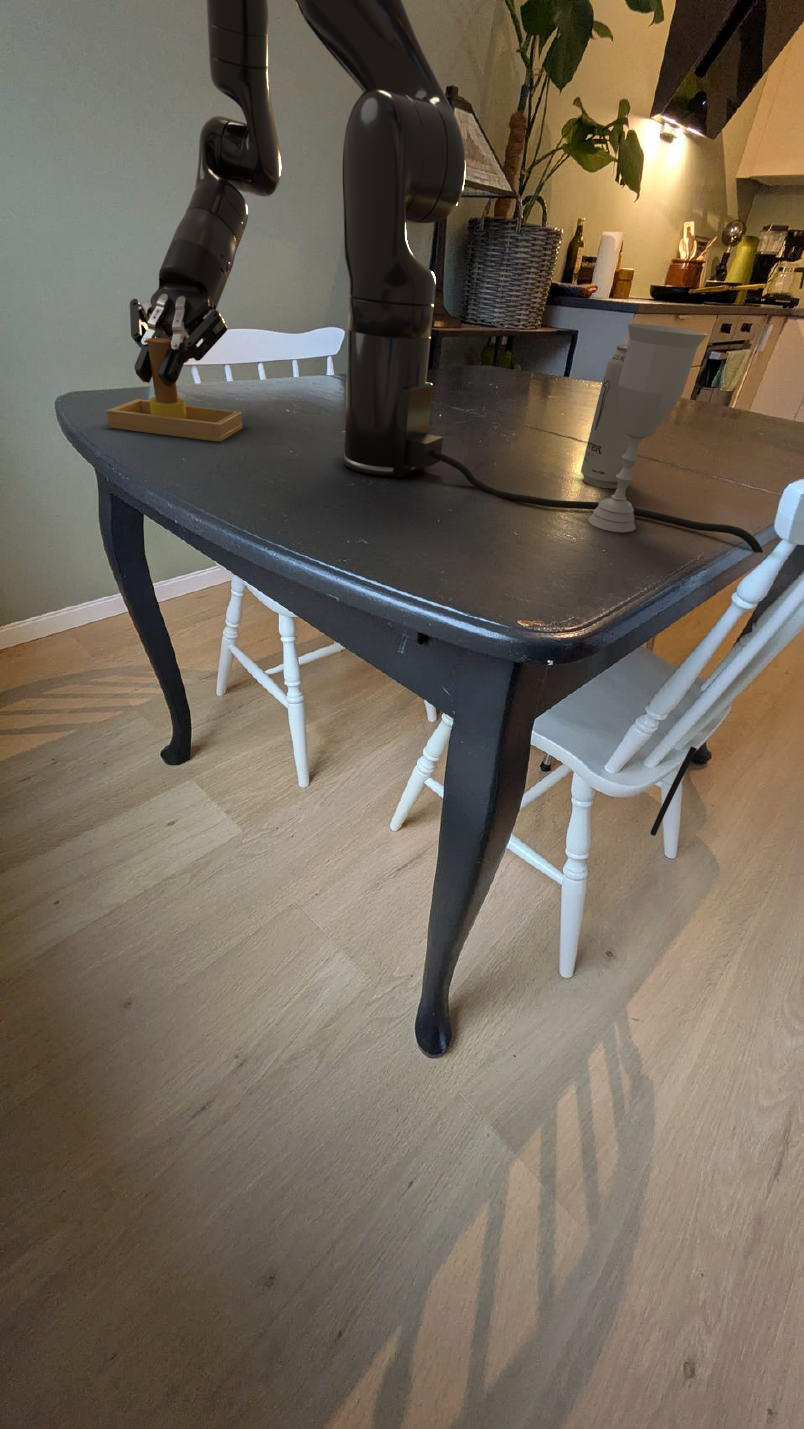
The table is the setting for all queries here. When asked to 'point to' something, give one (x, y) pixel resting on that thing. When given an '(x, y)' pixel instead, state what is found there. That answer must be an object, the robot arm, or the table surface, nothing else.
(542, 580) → the table surface
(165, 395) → the peg on yellow base
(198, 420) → the tray
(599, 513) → the chalice
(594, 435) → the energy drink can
